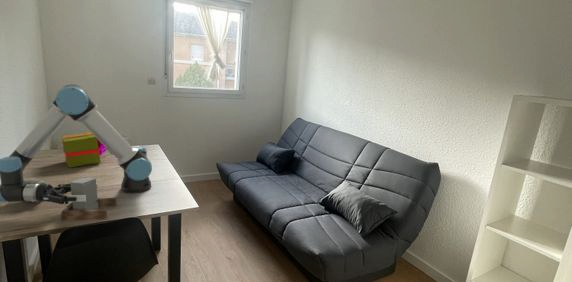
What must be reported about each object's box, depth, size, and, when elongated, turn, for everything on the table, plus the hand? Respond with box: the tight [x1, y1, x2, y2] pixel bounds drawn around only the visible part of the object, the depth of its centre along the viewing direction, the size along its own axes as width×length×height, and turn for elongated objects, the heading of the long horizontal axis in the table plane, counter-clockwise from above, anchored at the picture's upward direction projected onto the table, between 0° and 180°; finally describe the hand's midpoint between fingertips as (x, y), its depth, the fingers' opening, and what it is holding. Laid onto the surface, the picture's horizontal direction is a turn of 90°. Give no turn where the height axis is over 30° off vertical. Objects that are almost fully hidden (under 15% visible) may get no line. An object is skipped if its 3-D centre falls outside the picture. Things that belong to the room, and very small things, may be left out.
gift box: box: [60, 131, 108, 169], centre depth 213 cm, size 21×21×25 cm
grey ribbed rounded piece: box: [22, 178, 47, 204], centre depth 154 cm, size 11×17×11 cm, turn 86°
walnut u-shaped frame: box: [61, 197, 118, 221], centre depth 147 cm, size 18×14×4 cm
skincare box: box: [69, 177, 100, 210], centre depth 145 cm, size 8×7×16 cm
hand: (92, 192), depth 145 cm, fingers open, 13 cm apart
